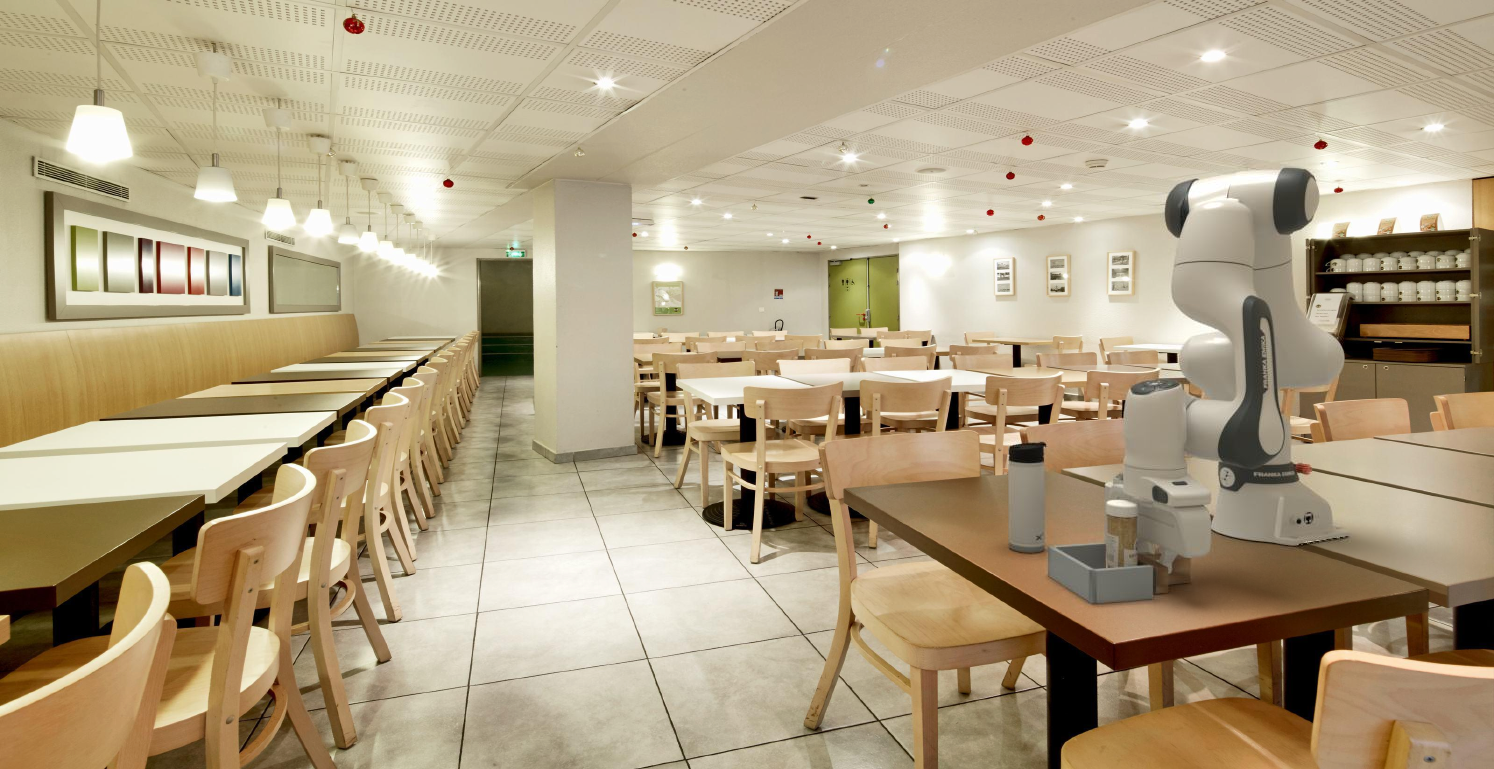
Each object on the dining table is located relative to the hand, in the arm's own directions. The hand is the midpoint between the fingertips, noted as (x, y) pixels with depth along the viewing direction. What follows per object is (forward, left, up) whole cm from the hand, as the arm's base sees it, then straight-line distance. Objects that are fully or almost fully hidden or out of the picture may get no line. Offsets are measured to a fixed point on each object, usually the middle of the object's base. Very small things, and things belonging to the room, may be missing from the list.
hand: (1154, 567), depth 118 cm
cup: (-6, -16, -3) cm, 18 cm away
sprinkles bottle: (+5, 0, -3) cm, 6 cm away
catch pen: (+10, 0, -2) cm, 10 cm away
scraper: (-1, 0, -2) cm, 3 cm away
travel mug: (+11, -21, -3) cm, 24 cm away
